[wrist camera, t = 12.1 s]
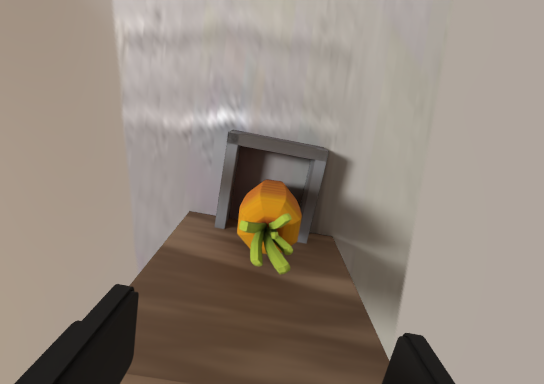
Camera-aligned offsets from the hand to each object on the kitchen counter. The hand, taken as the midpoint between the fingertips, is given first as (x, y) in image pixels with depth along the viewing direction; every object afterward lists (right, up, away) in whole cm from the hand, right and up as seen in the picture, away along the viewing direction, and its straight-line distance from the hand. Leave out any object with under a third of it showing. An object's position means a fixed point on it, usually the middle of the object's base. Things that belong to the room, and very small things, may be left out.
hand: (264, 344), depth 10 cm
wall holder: (0, +6, +21) cm, 22 cm away
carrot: (0, +6, +21) cm, 22 cm away
